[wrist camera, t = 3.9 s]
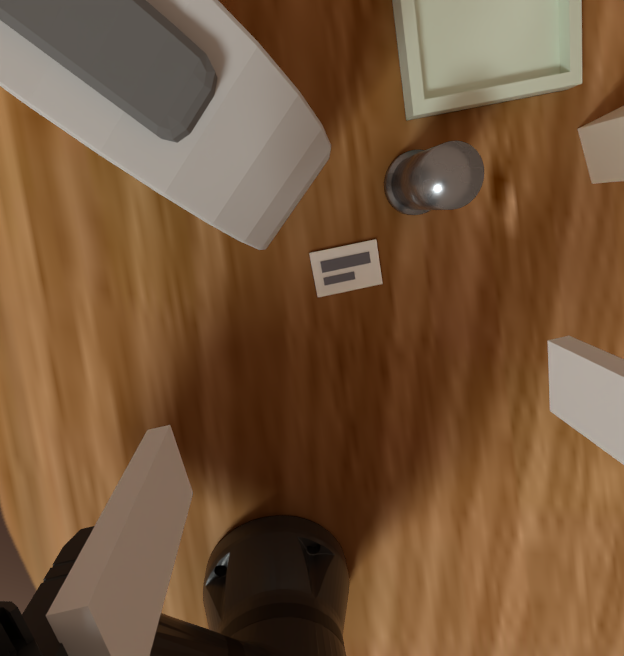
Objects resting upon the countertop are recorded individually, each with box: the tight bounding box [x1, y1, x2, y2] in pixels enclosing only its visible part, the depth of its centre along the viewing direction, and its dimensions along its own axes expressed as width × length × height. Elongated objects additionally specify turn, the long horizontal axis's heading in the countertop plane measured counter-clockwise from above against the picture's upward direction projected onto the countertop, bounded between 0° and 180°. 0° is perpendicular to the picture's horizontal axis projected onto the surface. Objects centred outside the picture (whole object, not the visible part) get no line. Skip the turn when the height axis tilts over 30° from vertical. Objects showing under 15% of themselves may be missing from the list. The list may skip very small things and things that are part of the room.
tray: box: [392, 0, 582, 121], centre depth 32 cm, size 14×14×2 cm
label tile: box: [309, 239, 383, 297], centre depth 37 cm, size 6×4×1 cm, turn 101°
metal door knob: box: [384, 141, 484, 215], centre depth 32 cm, size 5×5×8 cm
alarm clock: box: [0, 0, 331, 250], centre depth 24 cm, size 21×8×20 cm, turn 54°
